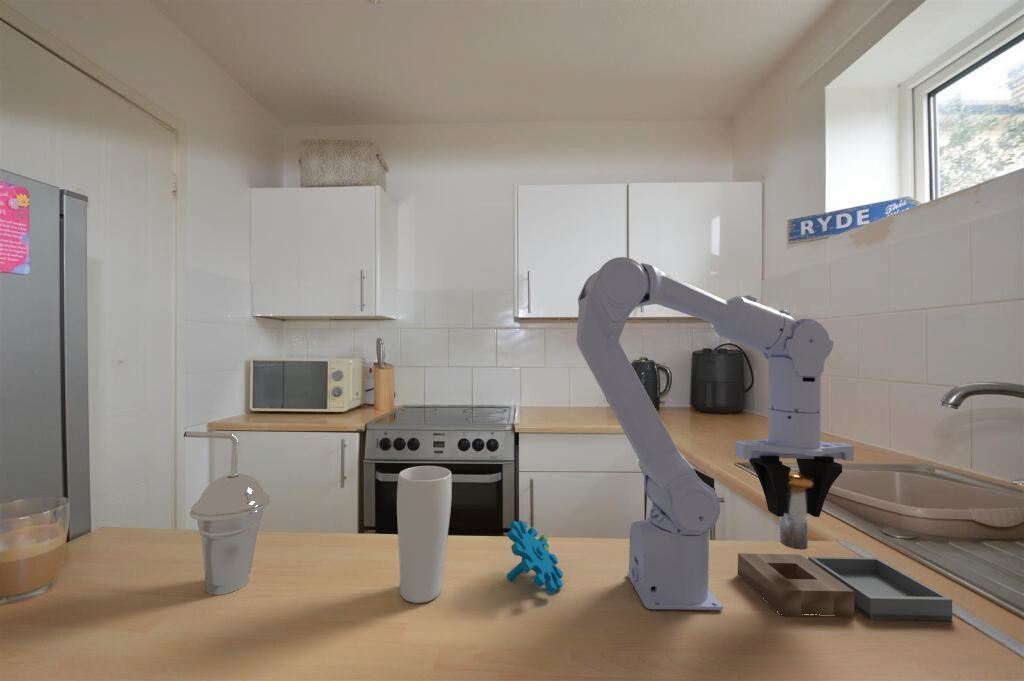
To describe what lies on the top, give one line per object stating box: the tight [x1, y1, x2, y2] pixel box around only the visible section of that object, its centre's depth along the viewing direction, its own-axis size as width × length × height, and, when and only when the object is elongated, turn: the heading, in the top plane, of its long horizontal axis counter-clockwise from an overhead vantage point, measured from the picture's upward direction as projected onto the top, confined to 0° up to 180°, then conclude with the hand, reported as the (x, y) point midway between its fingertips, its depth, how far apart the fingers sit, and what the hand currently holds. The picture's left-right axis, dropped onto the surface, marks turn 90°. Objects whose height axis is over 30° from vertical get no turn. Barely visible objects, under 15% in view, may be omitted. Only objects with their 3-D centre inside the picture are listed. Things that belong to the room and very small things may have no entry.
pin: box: [779, 470, 814, 551], centre depth 54 cm, size 4×4×9 cm
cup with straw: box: [183, 430, 271, 596], centre depth 53 cm, size 8×9×20 cm
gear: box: [506, 519, 564, 595], centre depth 56 cm, size 11×6×10 cm
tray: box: [807, 556, 953, 622], centre depth 54 cm, size 10×10×2 cm
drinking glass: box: [396, 465, 453, 604], centre depth 52 cm, size 7×7×15 cm
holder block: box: [737, 553, 855, 618], centre depth 54 cm, size 9×9×3 cm
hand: (793, 513), depth 54 cm, fingers closed on pin, 4 cm apart
